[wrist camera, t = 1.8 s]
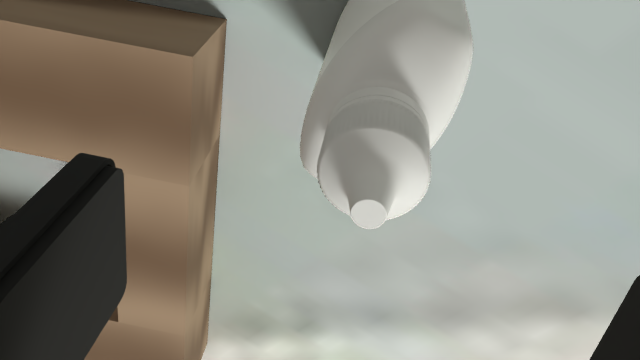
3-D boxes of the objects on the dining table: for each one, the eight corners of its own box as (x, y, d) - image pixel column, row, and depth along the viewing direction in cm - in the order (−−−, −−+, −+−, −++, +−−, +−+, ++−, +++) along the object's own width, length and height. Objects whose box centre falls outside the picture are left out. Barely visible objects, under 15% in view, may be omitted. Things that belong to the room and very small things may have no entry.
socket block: (-131, -49, 22) (-226, -24, 19) (226, 19, 22) (193, 57, 19) (-41, 291, 32) (-94, 347, 29) (207, 343, 32) (182, 406, 28)
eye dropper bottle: (293, 7, 21) (186, 183, 11) (434, -76, 19) (457, 49, 9) (352, 104, 23) (305, 331, 13) (487, 37, 21) (556, 247, 11)
